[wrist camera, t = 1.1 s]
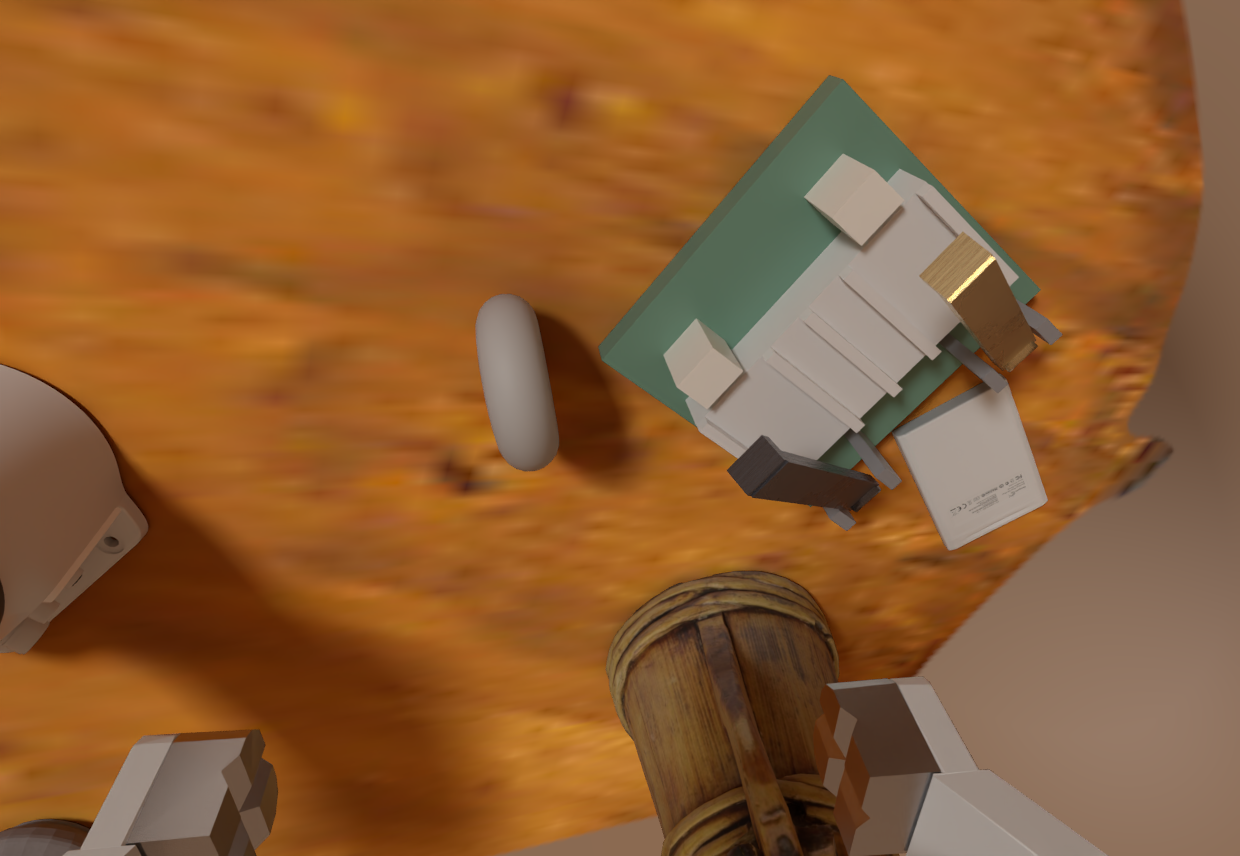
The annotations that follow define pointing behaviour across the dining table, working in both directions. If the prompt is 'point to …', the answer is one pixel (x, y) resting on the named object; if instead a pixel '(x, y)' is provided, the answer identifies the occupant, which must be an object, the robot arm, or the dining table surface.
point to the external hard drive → (972, 464)
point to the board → (778, 256)
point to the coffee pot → (42, 838)
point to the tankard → (730, 714)
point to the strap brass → (981, 301)
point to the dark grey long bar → (800, 479)
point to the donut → (516, 382)
